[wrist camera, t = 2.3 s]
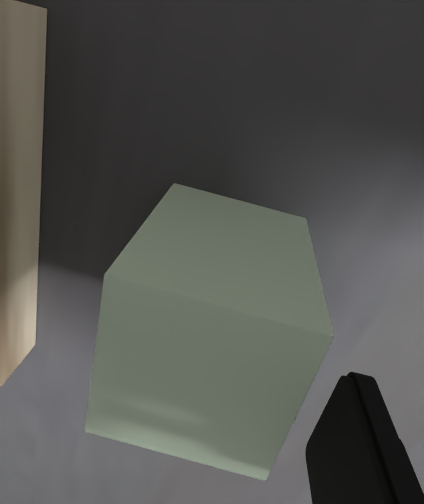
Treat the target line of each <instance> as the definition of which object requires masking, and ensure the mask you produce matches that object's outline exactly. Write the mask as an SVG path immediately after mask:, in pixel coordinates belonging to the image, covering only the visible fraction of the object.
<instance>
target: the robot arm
mask: <svg viewBox="0 0 424 504" xmlns="http://www.w3.org/2000/svg"><path fill="white" fill-rule="evenodd" d="M306 462H307V469H308V476H309V483H310V490H311V496H312V503H313V504H424V494H423V491H422V489H421V487H420V484H419V482H418V479H417V477H416V474H415V472H414V469H413V467H412V464H411V462H410V460H409V457H408V455H407V452H406V450H405V447H404V445H403V443H402V441H401V440H400V439H399V437H398V435H397V432H396V430H395V427H394V425H393V422H392V420H391V417H390V415H389V412H388V410H387V407H386V405H385V403H384V400H383V398H382V395H381V393H380V390H379V388H378V385H377V383H376V381H375V379H374V378H373V377H371V376H367V375H363V374H359V373H355V372H350V373H349V374H348V375H347V376H341V377H340V379H339V381H338V383H337V385H336V387H335V389H334V391H333V393H332V395H331V397H330V399H329V401H328V403H327V405H326V407H325V409H324V411H323V413H322V415H321V417H320V419H319V421H318V423H317V425H316V427H315V429H314V431H313V433H312V435H311V437H310V439H309V441H308V443H307V446H306Z"/></svg>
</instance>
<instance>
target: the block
mask: <svg viewBox="0 0 424 504" xmlns="http://www.w3.org/2000/svg"><path fill="white" fill-rule="evenodd" d="M333 338H334V334H333V330H332V325H331V321H330V317H329V313H328V309H327V305H326V300H325V296H324V292H323V288H322V284H321V280H320V275H319V271H318V267H317V263H316V259H315V254H314V250H313V246H312V242H311V238H310V234H309V229H308V225H307V221H306V218H303V217H300V216H296V215H292V214H288V213H285V212H281V211H277V210H274V209H270V208H266V207H262V206H259V205H255V204H251V203H247V202H244V201H240V200H236V199H232V198H229V197H225V196H221V195H217V194H214V193H210V192H206V191H202V190H199V189H195V188H191V187H187V186H184V185H180V184H176V183H174V184H173V185H172V186H171V187H170V189H169V190H168V191H167V193H166V194H165V195H164V197H163V198H162V199H161V201H160V202H159V203H158V205H157V206H156V207H155V209H154V210H153V211H152V212H151V214H150V215H149V216H148V218H147V219H146V220H145V222H144V223H143V224H142V226H141V227H140V228H139V230H138V231H137V232H136V233H135V235H134V236H133V237H132V239H131V240H130V241H129V243H128V244H127V245H126V247H125V248H124V249H123V251H122V252H121V253H120V255H119V256H118V257H117V258H116V260H115V261H114V262H113V264H112V265H111V266H110V268H109V269H108V270H107V272H106V273H105V274H104V281H103V289H102V297H101V305H100V313H99V320H98V328H97V336H96V344H95V352H94V360H93V368H92V376H91V384H90V392H89V400H88V407H87V415H86V423H85V432H88V433H92V434H96V435H99V436H103V437H107V438H110V439H114V440H118V441H121V442H125V443H129V444H132V445H136V446H140V447H143V448H147V449H150V450H154V451H158V452H161V453H165V454H169V455H172V456H176V457H180V458H183V459H187V460H191V461H194V462H198V463H202V464H205V465H209V466H212V467H216V468H220V469H223V470H227V471H231V472H234V473H238V474H242V475H245V476H249V477H253V478H256V479H260V480H263V481H266V479H267V477H268V475H269V473H270V470H271V468H272V466H273V464H274V462H275V460H276V458H277V456H278V454H279V451H280V449H281V447H282V445H283V443H284V441H285V439H286V437H287V435H288V433H289V430H290V428H291V426H292V424H293V422H294V420H295V418H296V416H297V414H298V412H299V409H300V407H301V405H302V403H303V401H304V399H305V397H306V395H307V393H308V391H309V388H310V386H311V384H312V382H313V380H314V378H315V376H316V374H317V372H318V370H319V367H320V365H321V363H322V361H323V359H324V357H325V355H326V353H327V351H328V349H329V346H330V344H331V342H332V340H333Z"/></svg>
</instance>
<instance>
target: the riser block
mask: <svg viewBox="0 0 424 504" xmlns="http://www.w3.org/2000/svg"><path fill="white" fill-rule="evenodd" d="M46 29H47V9H46V8H42V7H39V6H35V5H31V4H27V3H23V2H19V1H16V0H0V387H1V386H2V385H3V384H4V382H5V381H6V380H7V379H8V378H9V376H10V375H11V374H12V373H13V371H14V370H15V369H16V368H17V366H18V365H19V364H20V363H21V362H22V360H23V359H24V358H25V357H26V355H27V354H28V353H29V352H30V350H31V349H32V348H33V347H34V346H35V339H36V311H37V283H38V255H39V227H40V198H41V170H42V142H43V114H44V86H45V57H46Z"/></svg>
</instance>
